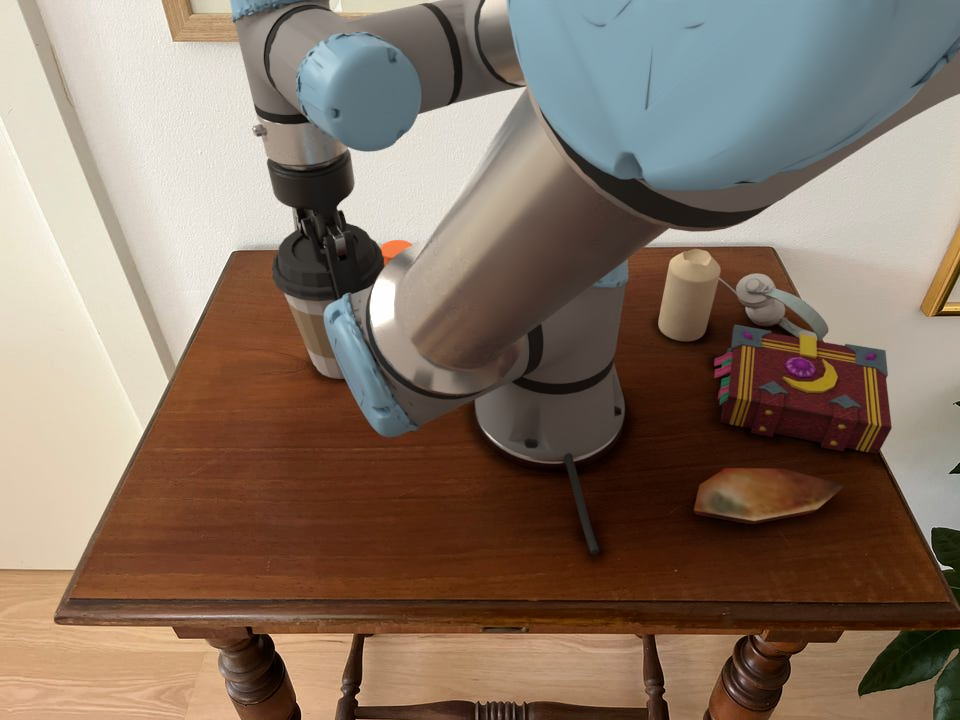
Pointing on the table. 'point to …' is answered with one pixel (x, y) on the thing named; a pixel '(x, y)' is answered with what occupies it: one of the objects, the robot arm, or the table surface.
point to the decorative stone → (761, 495)
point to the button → (393, 249)
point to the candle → (688, 295)
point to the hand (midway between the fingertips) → (342, 337)
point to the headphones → (776, 306)
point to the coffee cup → (319, 289)
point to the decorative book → (805, 389)
